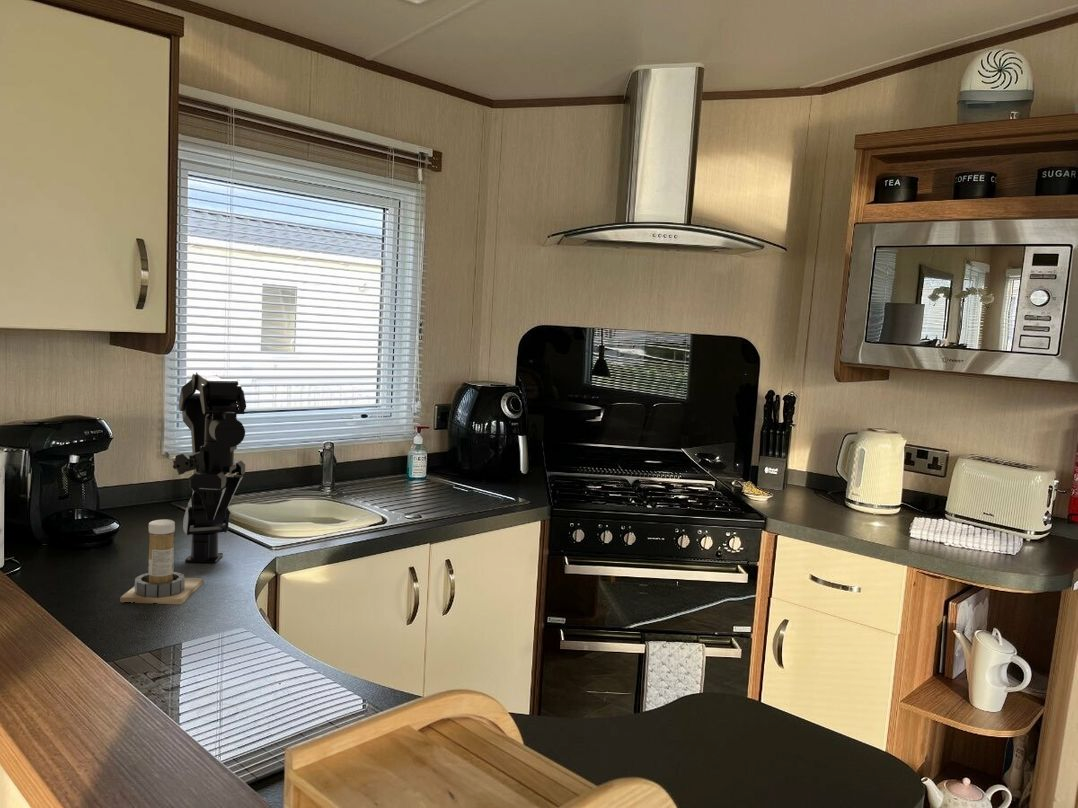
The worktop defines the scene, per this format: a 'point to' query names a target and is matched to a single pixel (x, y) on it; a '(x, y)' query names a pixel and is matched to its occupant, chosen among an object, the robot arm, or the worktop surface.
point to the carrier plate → (190, 588)
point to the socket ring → (159, 586)
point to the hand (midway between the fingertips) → (217, 514)
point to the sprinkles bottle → (161, 551)
